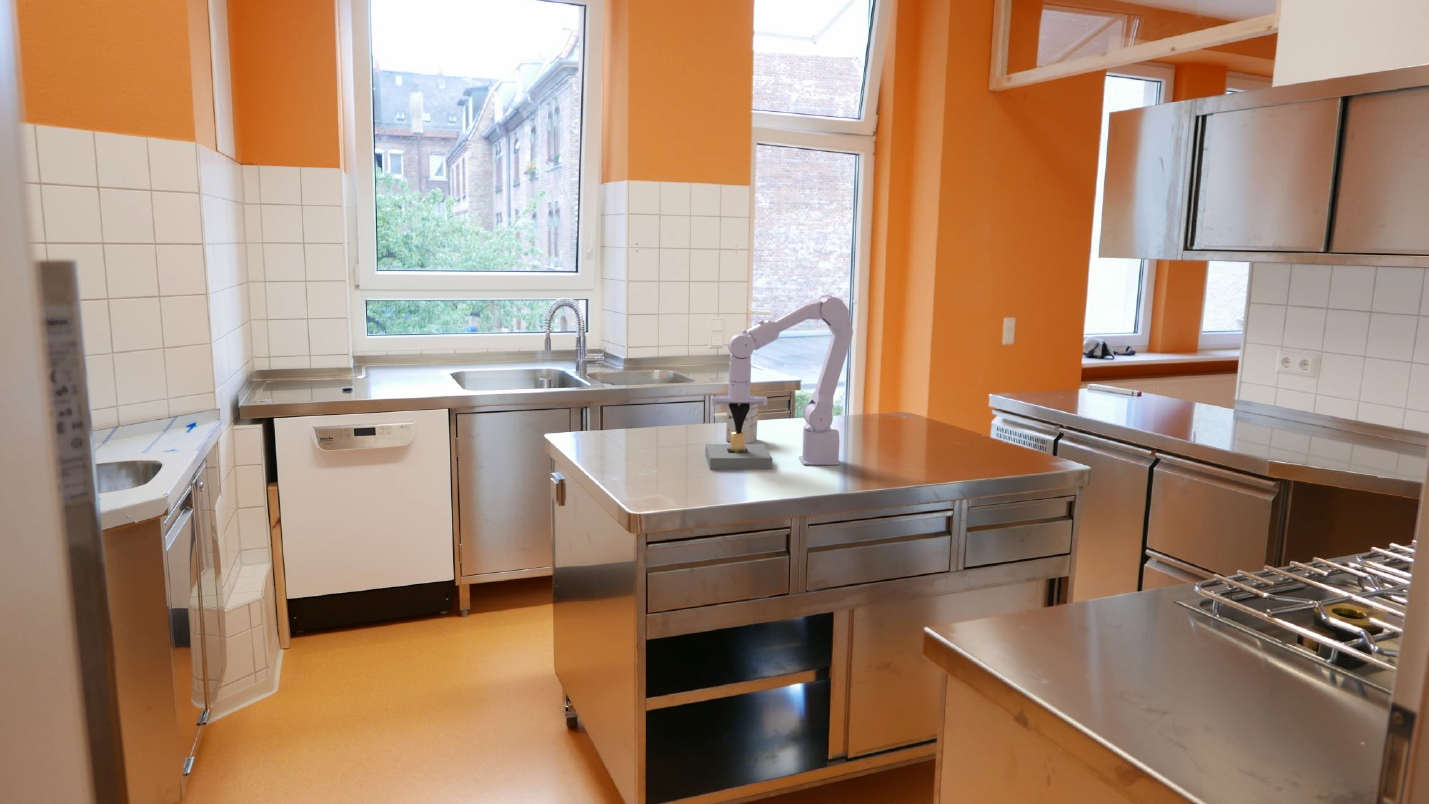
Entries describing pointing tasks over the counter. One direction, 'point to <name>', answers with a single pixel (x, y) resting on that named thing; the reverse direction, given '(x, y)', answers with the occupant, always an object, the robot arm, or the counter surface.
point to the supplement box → (744, 424)
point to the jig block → (738, 457)
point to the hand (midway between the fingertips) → (738, 431)
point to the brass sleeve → (738, 442)
